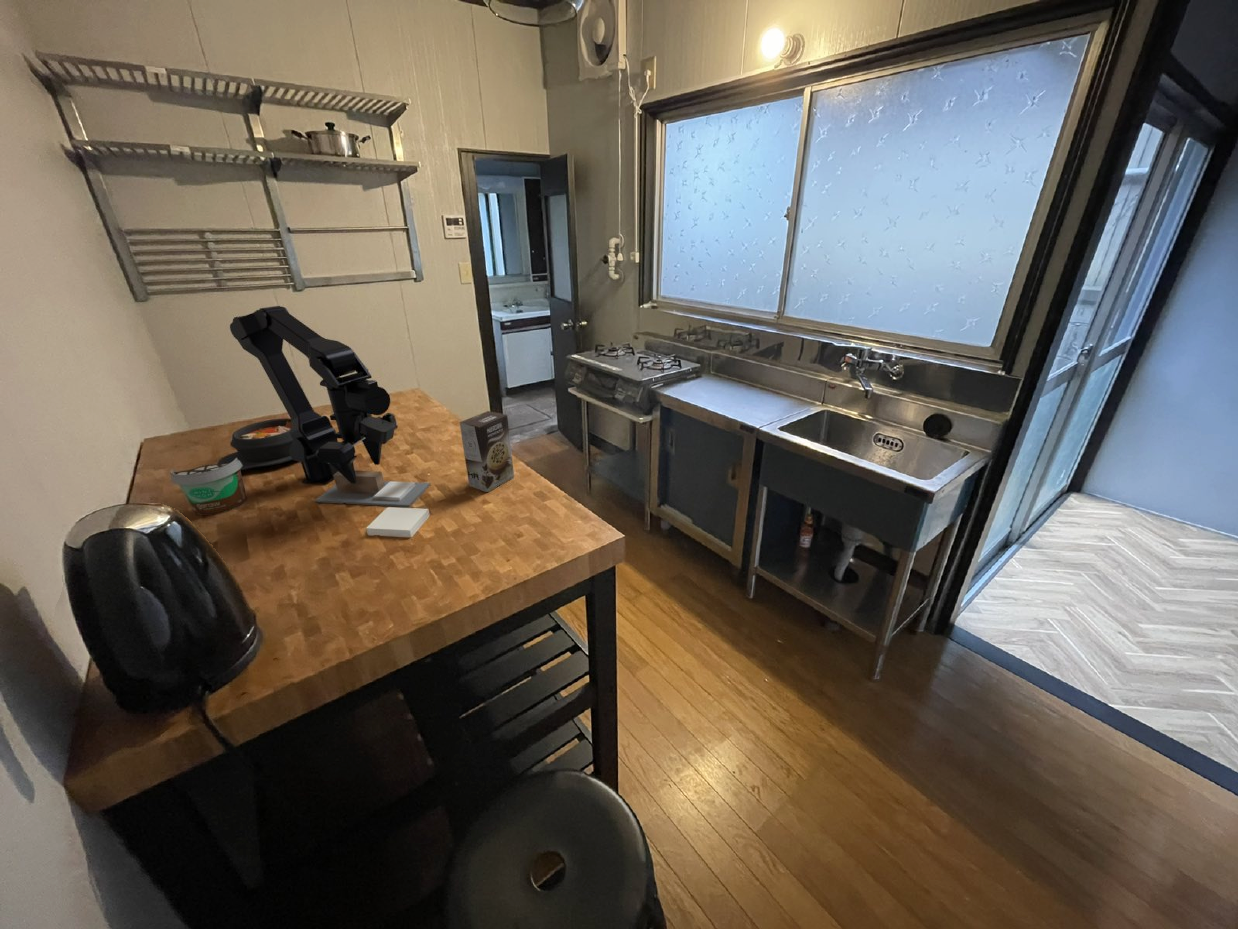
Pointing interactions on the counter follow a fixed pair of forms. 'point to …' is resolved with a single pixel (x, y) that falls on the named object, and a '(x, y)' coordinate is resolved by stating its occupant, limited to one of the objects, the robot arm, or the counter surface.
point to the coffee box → (487, 450)
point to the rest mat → (372, 497)
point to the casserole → (261, 444)
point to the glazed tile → (398, 522)
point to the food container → (212, 487)
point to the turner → (373, 485)
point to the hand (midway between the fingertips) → (365, 473)
